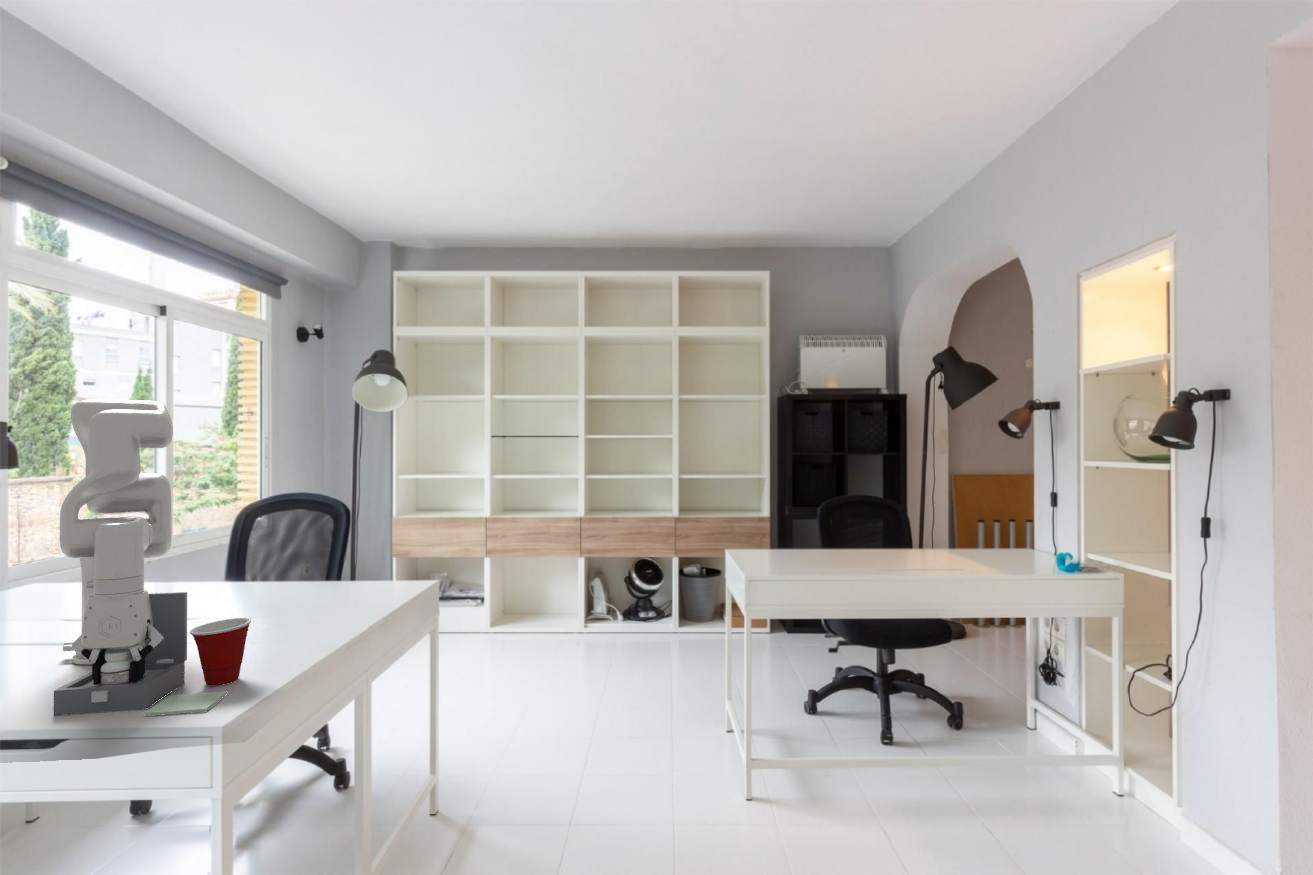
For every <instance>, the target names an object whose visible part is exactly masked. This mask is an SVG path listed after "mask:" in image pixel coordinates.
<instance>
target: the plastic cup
mask: <svg viewBox="0 0 1313 875" xmlns="http://www.w3.org/2000/svg"><path fill="white" fill-rule="evenodd" d="M251 622H252V618H250V617H249V618H248V617H237V618H227V619H221V620H217V621H212V622H208V623H205V624H202V625H198V626H196V627H193V628H192V629H190V630H189V635H191V636H192V638H193V640H194V641H195V645H196V647H197V651H198V652H197V653H198V656H199V662H200V667H201V669H202V673H203V678H204V682H205V685H206V686H208V687H209V686H210V687H218V686H219V687H220V686H224V685H223V684H226V685H228V683H229V684H232V683H235V682H237V681H238V680H239V677H240V673H241V667H242V663H243V660H244V659H243V658H244V652H245V646H246V641H247V636H248V632H249V627H250V624H252V623H251ZM236 680H237V681H236ZM234 681H235V682H234ZM231 682H232V683H231Z"/></svg>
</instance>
